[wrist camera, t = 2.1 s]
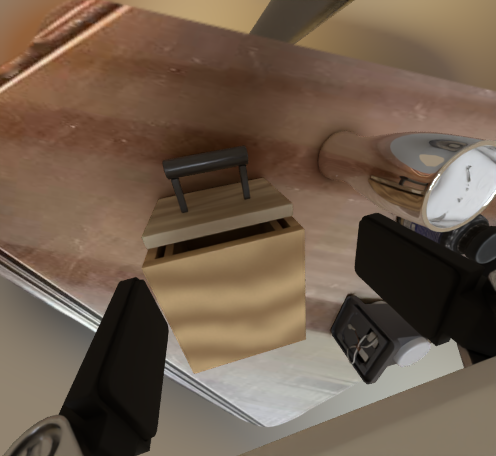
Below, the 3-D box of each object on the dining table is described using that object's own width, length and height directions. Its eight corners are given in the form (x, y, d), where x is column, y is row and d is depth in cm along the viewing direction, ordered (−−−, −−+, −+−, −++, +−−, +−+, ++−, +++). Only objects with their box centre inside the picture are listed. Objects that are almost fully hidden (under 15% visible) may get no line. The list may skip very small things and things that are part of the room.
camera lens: (416, 230, 37) (492, 269, 28) (389, 227, 36) (460, 268, 26) (436, 197, 35) (527, 228, 25) (408, 192, 33) (495, 222, 23)
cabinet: (160, 214, 26) (141, 268, 17) (267, 191, 28) (304, 229, 18) (194, 302, 34) (193, 374, 24) (276, 280, 36) (305, 339, 26)
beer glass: (321, 124, 25) (454, 131, 12) (370, 129, 27) (533, 140, 14) (309, 181, 28) (404, 236, 15) (353, 183, 30) (474, 233, 17)
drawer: (142, 155, 22) (113, 177, 14) (259, 134, 24) (290, 144, 16) (192, 290, 31) (191, 347, 24) (273, 269, 33) (297, 316, 25)
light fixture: (373, 325, 50) (417, 373, 40) (326, 332, 45) (363, 388, 36) (395, 289, 45) (450, 335, 36) (345, 293, 41) (393, 346, 32)
